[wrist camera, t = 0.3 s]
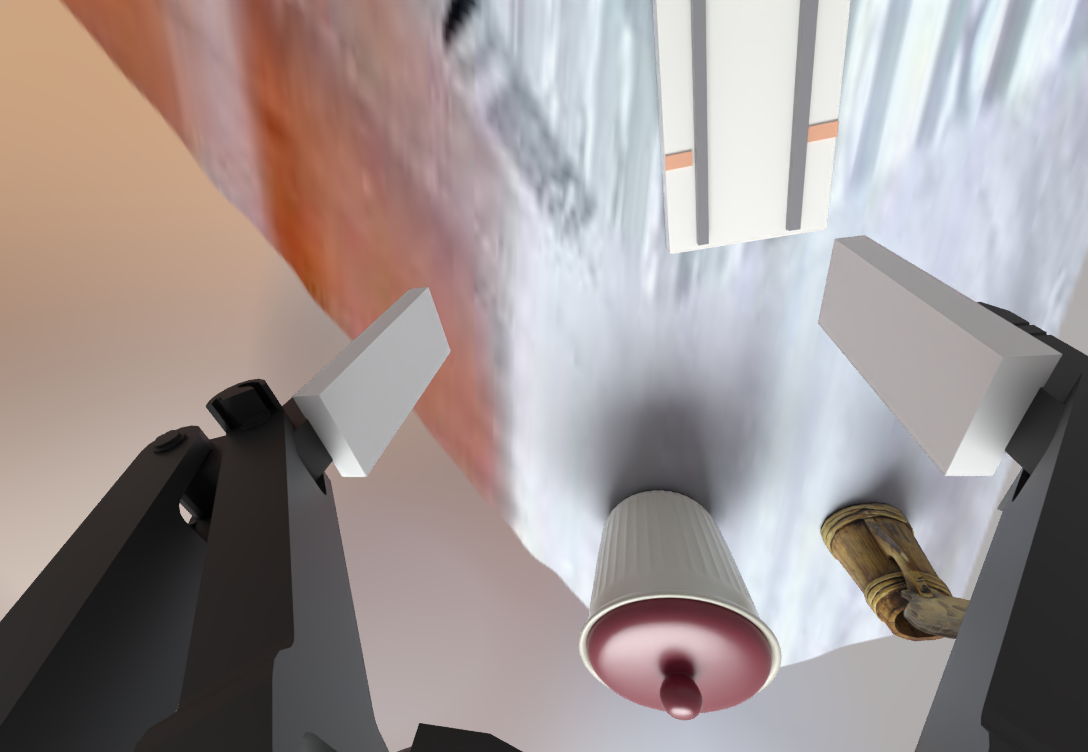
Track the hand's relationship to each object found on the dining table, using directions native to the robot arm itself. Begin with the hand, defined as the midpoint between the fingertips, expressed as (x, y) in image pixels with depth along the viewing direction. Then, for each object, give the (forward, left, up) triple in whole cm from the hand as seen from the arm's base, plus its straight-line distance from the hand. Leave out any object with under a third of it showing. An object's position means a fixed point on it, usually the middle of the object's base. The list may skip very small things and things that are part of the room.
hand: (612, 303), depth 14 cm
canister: (+38, +2, -26) cm, 46 cm away
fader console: (-9, +11, -26) cm, 30 cm away
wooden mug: (+38, +25, -26) cm, 52 cm away
